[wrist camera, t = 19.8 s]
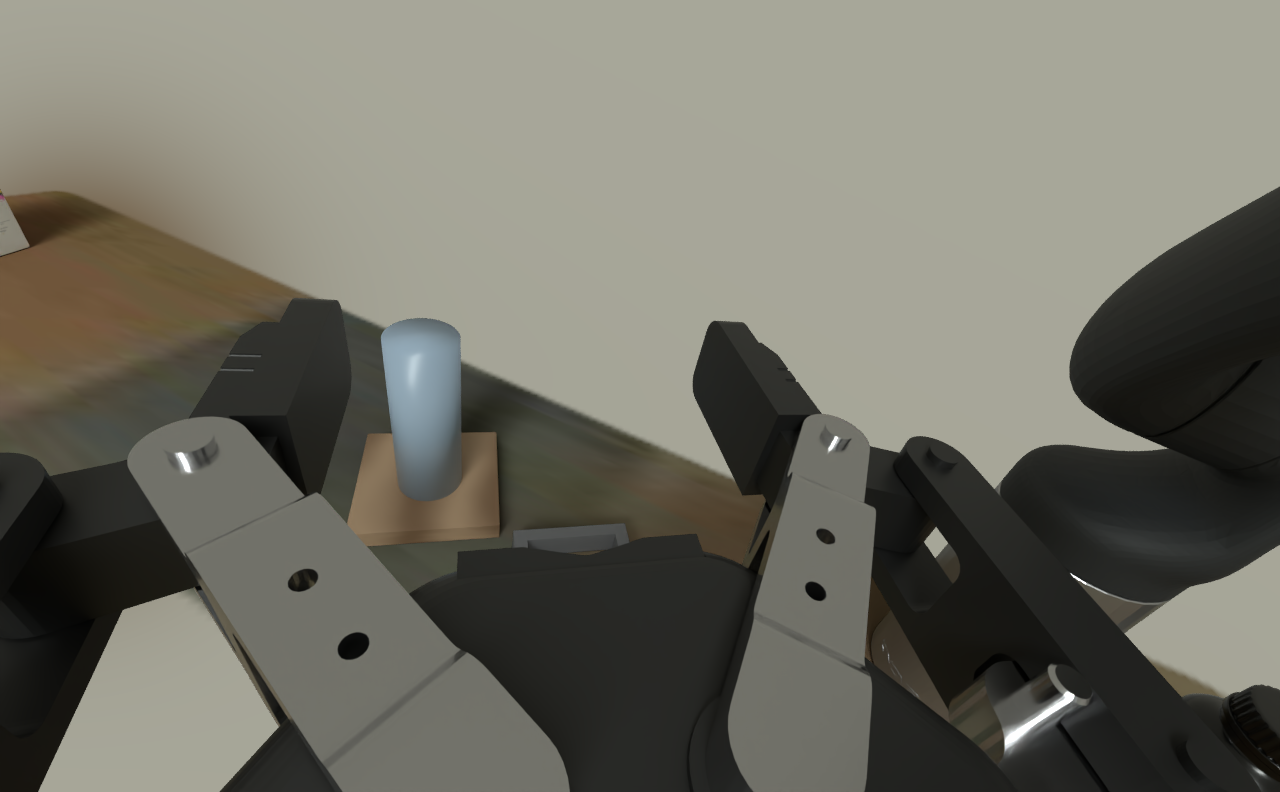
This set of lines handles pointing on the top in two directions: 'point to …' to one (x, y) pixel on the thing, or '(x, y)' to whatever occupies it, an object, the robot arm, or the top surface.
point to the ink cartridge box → (10, 230)
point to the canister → (424, 405)
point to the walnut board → (404, 520)
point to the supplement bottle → (1246, 729)
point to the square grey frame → (572, 538)
